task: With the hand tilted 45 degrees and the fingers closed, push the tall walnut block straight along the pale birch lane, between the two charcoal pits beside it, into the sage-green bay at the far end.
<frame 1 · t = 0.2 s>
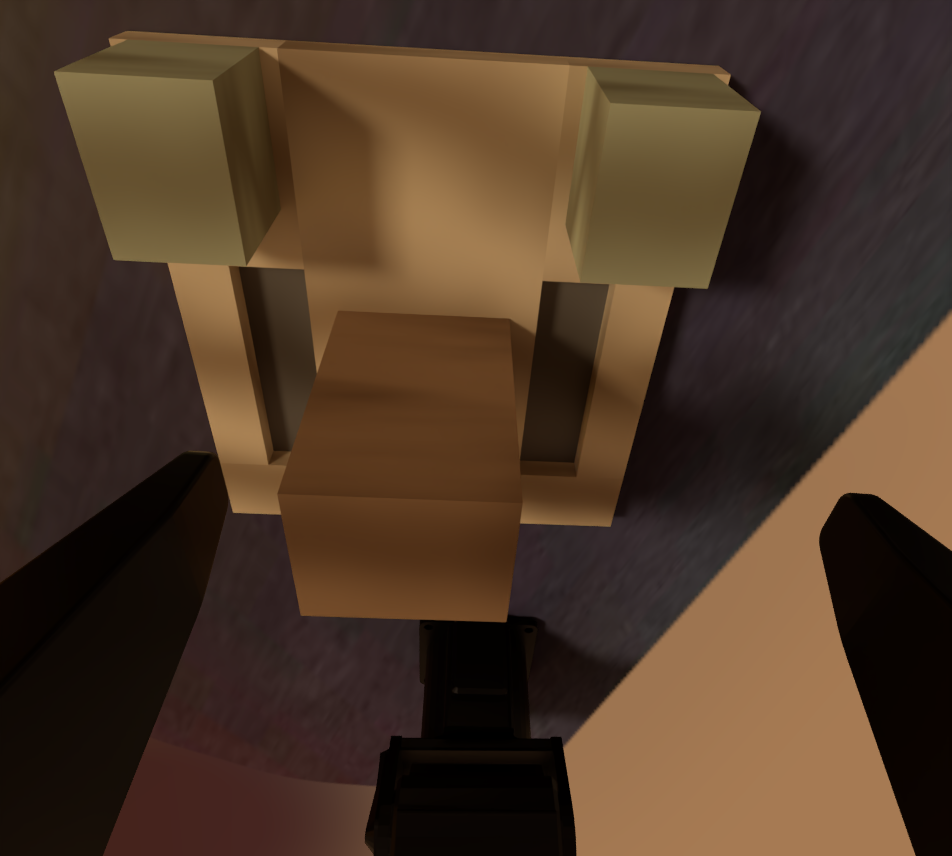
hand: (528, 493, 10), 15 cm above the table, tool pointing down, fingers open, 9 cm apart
walnut block: (423, 373, 25), point 1 cm above the table, touching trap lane
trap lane: (425, 327, 25), on the table
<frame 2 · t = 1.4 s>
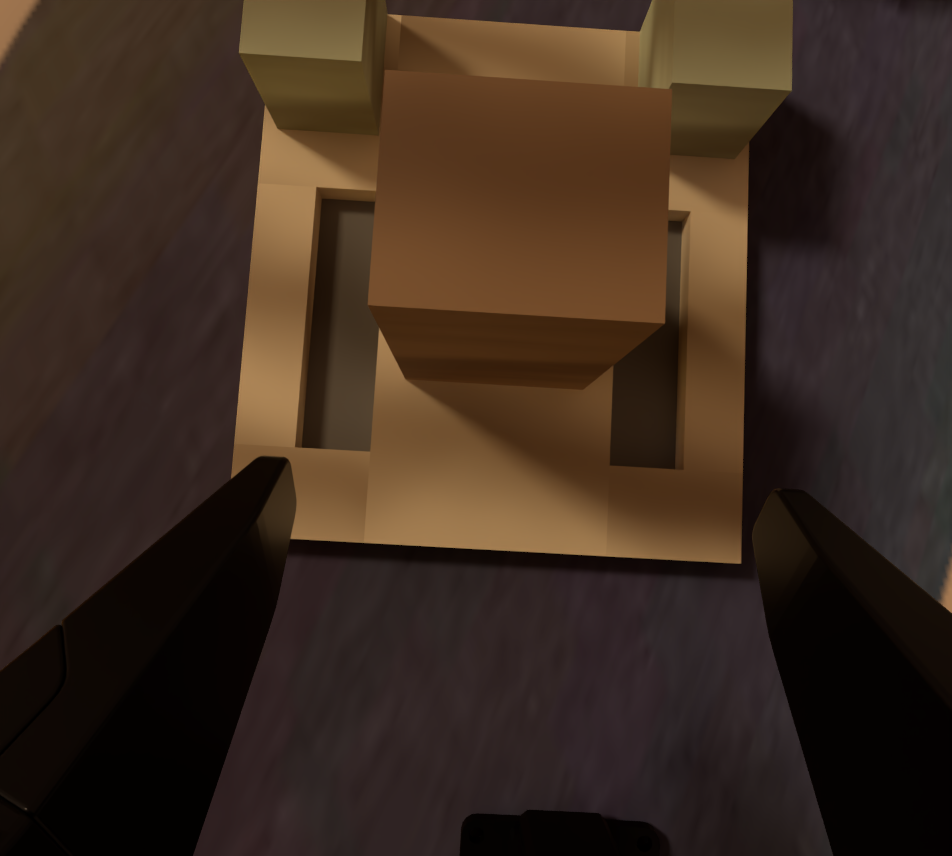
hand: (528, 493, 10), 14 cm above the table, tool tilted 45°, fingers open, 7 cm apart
walnut block: (498, 312, 22), point 1 cm above the table, touching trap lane
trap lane: (498, 287, 24), on the table
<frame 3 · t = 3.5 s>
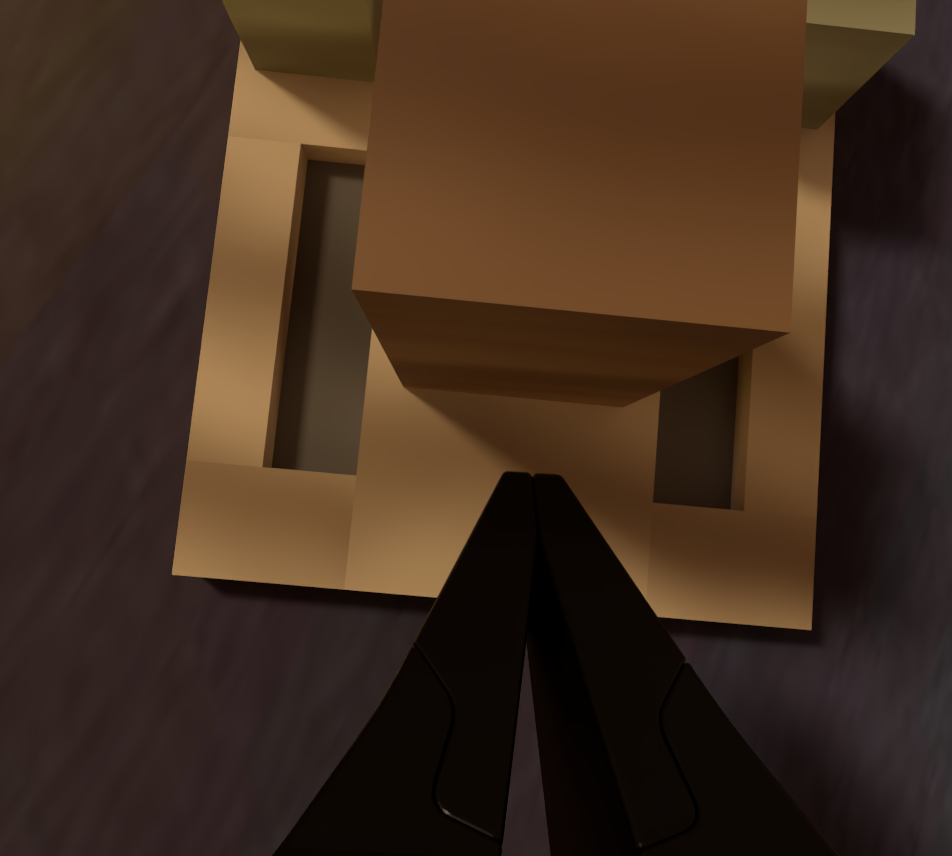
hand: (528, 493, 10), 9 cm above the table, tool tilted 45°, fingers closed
walnut block: (521, 307, 18), point 1 cm above the table, touching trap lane
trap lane: (520, 276, 19), on the table
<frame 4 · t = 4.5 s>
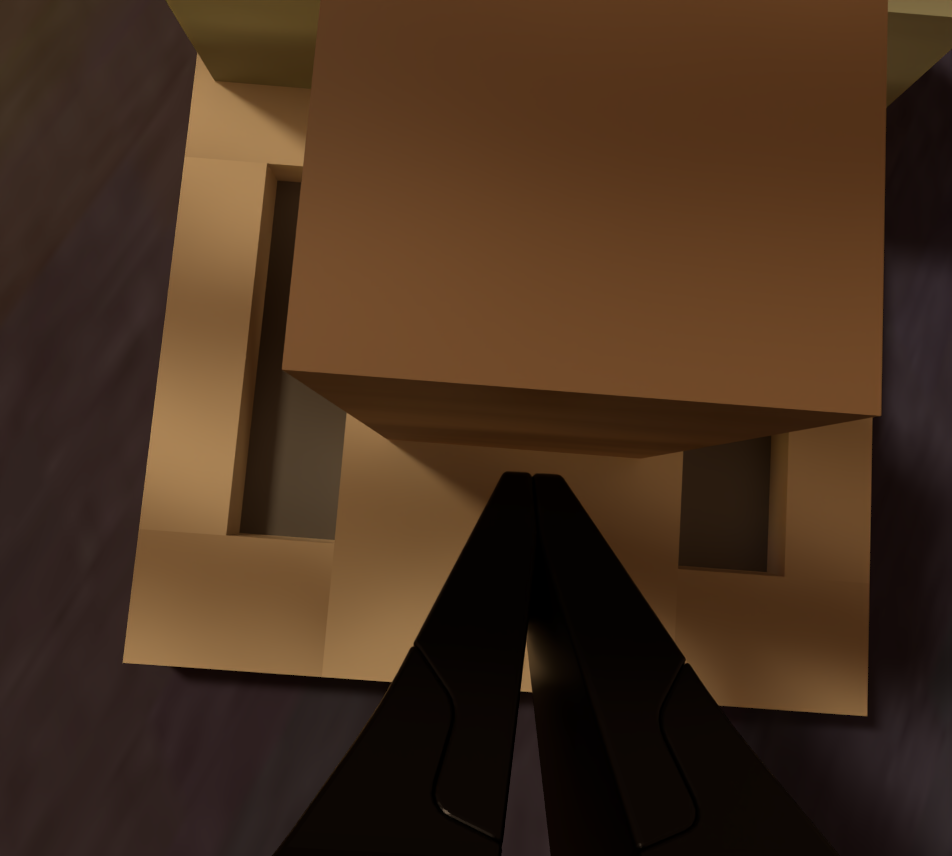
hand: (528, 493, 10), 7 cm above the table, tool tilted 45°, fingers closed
walnut block: (521, 344, 16), point 1 cm above the table, touching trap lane
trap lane: (520, 307, 17), on the table
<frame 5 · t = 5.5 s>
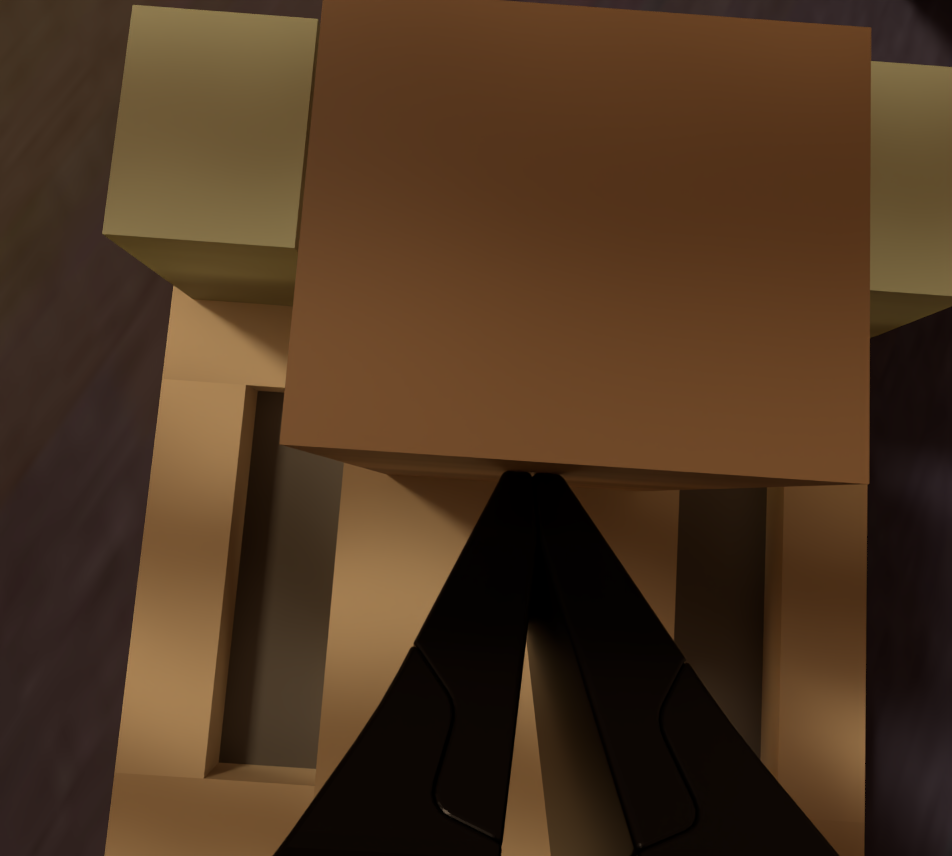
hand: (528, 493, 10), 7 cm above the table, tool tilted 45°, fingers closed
walnut block: (518, 379, 16), point 1 cm above the table
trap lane: (506, 517, 17), on the table
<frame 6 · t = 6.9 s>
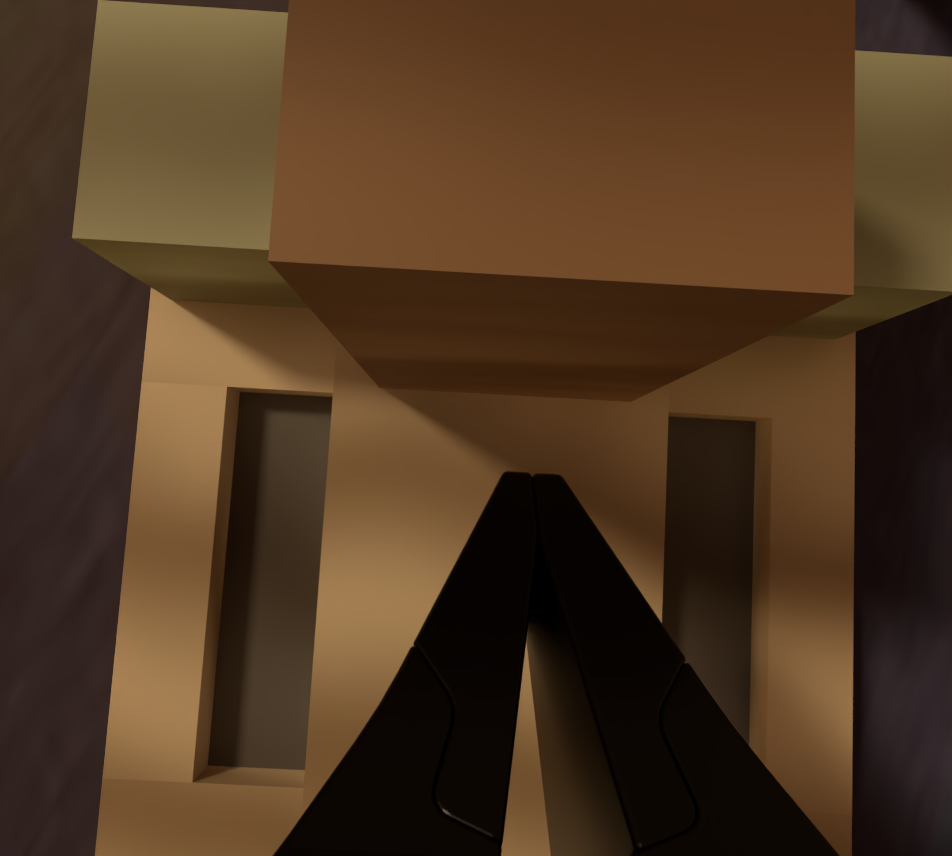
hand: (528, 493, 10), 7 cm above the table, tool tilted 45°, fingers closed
walnut block: (510, 292, 16), point 1 cm above the table, touching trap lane
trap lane: (492, 516, 17), on the table
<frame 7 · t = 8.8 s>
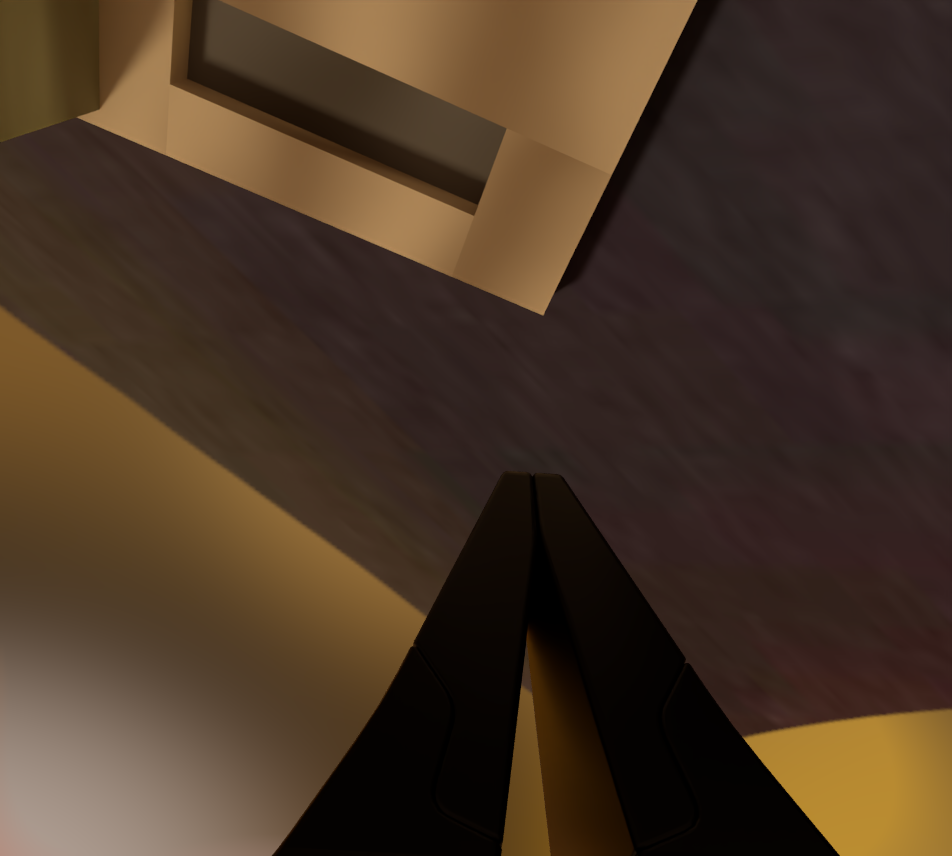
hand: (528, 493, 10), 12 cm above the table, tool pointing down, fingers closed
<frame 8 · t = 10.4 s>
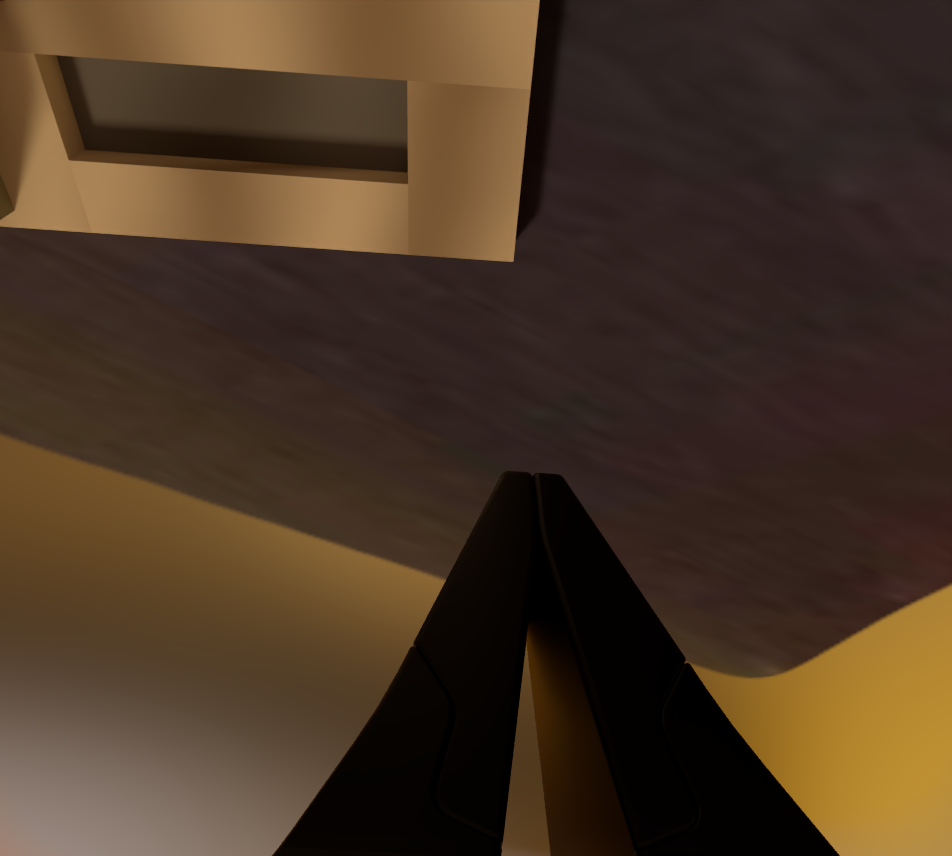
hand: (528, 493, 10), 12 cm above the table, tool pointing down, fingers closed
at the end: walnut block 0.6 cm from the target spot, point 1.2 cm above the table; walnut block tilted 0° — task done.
